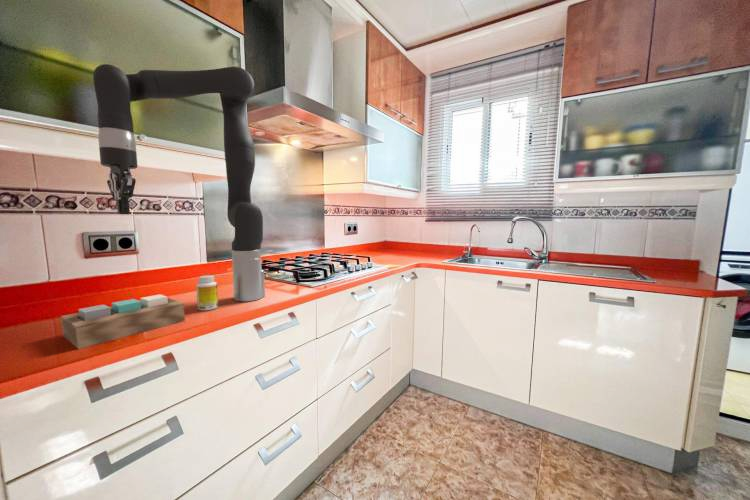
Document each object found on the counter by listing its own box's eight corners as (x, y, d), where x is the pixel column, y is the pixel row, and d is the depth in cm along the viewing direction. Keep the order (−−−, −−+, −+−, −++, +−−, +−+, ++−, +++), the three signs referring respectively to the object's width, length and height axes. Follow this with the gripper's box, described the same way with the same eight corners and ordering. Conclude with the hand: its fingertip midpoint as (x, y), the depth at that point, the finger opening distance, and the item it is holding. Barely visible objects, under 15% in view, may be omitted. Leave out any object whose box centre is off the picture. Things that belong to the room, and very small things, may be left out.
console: (164, 312, 87) (163, 296, 86) (184, 320, 80) (183, 303, 80) (63, 336, 69) (61, 316, 69) (78, 349, 63) (76, 326, 62)
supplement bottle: (221, 308, 92) (219, 276, 91) (201, 312, 88) (199, 278, 87) (214, 304, 95) (213, 273, 94) (195, 308, 91) (193, 276, 90)
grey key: (105, 320, 73) (103, 304, 72) (111, 323, 70) (110, 307, 70) (80, 325, 69) (78, 309, 68) (86, 329, 66) (84, 312, 66)
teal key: (134, 313, 78) (133, 298, 77) (142, 316, 75) (140, 301, 75) (113, 318, 74) (111, 302, 73) (119, 321, 71) (118, 305, 71)
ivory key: (161, 308, 83) (160, 294, 82) (168, 310, 80) (167, 296, 80) (141, 312, 79) (140, 297, 78) (148, 315, 76) (147, 300, 76)
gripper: (145, 148, 78) (150, 214, 80) (126, 154, 85) (131, 214, 87) (108, 142, 72) (115, 213, 74) (91, 149, 79) (97, 213, 81)
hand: (123, 214), depth 80 cm, fingers closed
